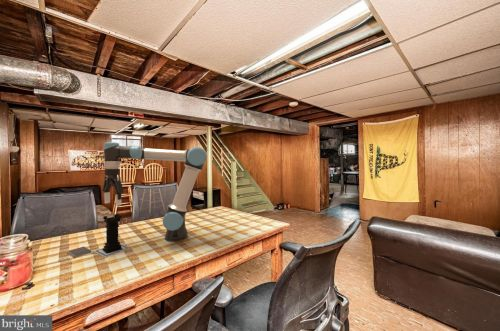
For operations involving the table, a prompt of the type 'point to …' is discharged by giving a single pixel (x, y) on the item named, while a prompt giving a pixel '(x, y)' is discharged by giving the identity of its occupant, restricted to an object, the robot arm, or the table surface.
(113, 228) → the chess piece
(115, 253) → the print sheet
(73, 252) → the ink pad
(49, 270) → the table surface
